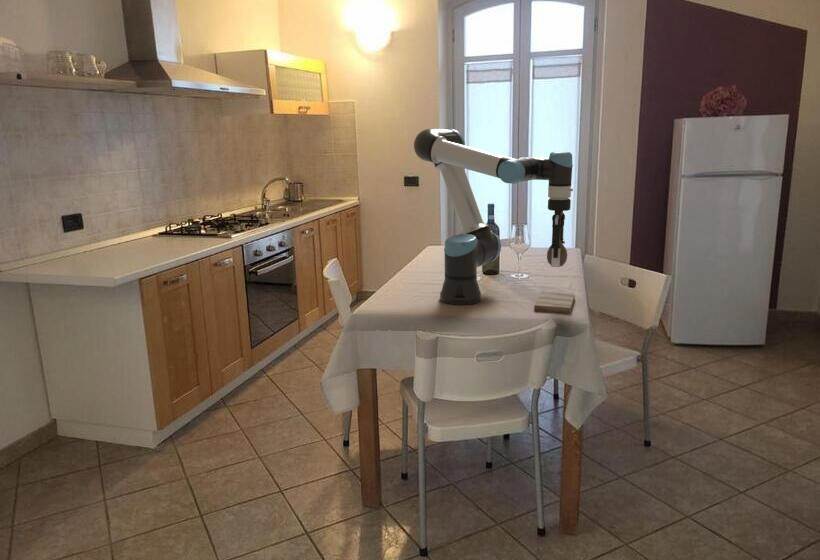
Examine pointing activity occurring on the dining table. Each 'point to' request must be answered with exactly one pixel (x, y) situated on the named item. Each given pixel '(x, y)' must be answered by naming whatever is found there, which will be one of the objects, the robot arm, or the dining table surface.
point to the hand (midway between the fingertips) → (556, 264)
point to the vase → (562, 255)
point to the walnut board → (555, 302)
